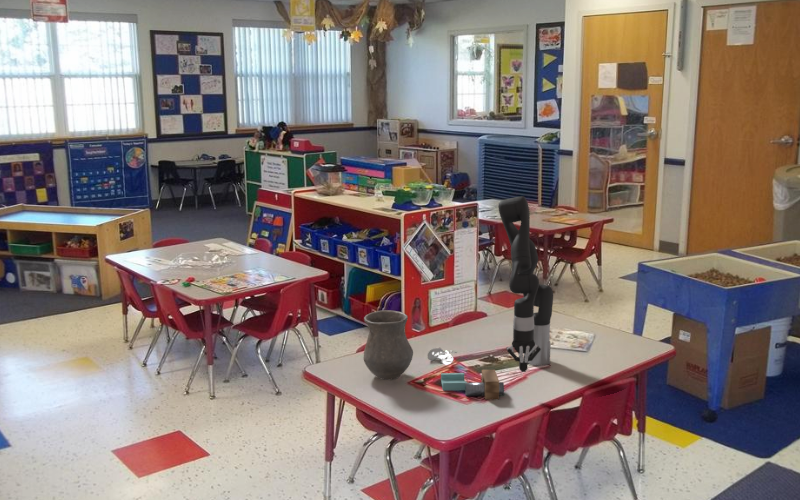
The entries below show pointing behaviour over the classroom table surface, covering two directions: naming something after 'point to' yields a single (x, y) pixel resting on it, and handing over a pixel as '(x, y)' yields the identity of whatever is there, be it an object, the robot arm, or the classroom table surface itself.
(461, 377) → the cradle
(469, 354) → the classroom table surface
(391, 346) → the vase
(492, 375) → the brown notched block
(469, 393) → the axle
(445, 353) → the figurine
